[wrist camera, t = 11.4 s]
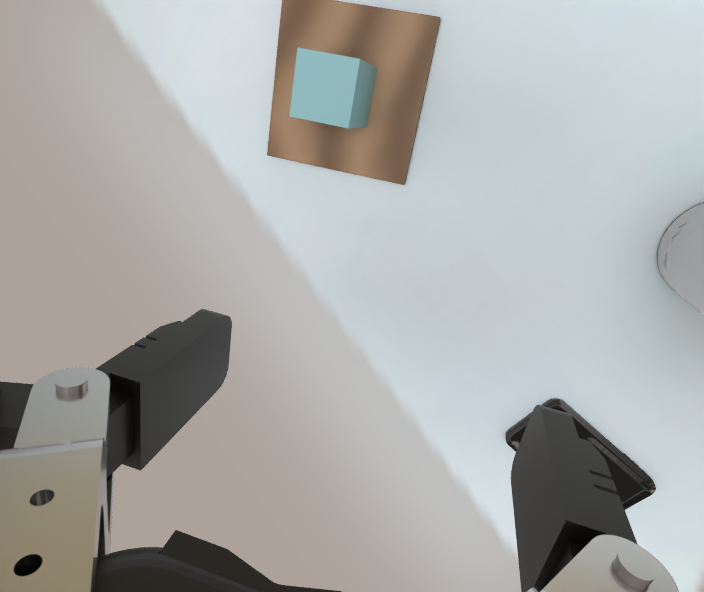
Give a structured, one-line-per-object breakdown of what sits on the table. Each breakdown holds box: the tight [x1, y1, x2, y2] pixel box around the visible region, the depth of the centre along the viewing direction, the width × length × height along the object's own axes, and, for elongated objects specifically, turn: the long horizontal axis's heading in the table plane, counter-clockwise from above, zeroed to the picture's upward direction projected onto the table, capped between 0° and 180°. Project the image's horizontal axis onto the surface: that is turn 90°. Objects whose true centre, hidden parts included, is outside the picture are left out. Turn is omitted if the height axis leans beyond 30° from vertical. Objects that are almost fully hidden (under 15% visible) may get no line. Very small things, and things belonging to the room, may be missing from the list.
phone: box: [506, 398, 656, 510], centre depth 51 cm, size 8×1×15 cm
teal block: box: [290, 48, 377, 128], centre depth 39 cm, size 5×5×7 cm
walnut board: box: [267, 0, 441, 185], centre depth 43 cm, size 14×14×1 cm
